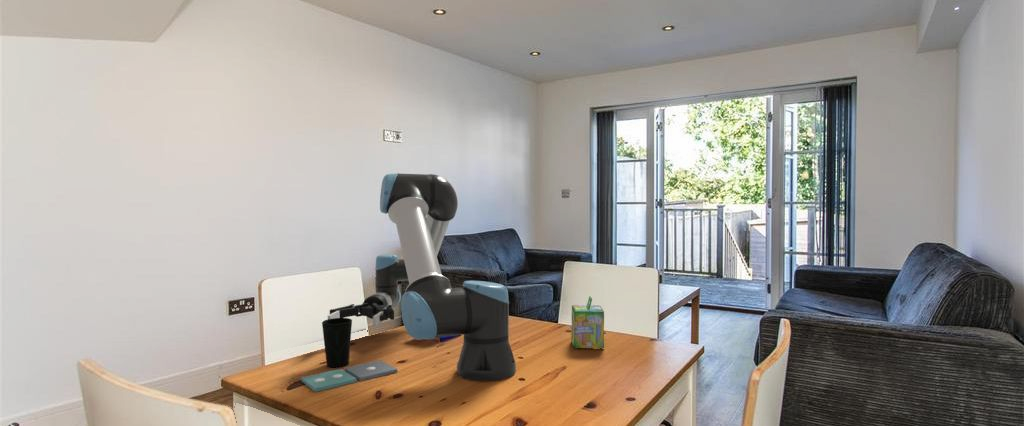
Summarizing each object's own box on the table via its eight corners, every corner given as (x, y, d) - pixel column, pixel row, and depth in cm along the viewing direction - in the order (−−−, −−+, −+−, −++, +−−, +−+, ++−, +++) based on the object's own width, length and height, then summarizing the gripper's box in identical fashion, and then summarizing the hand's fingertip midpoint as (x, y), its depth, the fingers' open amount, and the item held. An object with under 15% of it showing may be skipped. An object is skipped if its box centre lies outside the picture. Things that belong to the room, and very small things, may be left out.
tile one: (397, 372, 130) (397, 368, 130) (360, 381, 124) (360, 377, 124) (380, 362, 138) (380, 359, 138) (344, 370, 131) (344, 367, 131)
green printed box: (571, 341, 159) (570, 294, 158) (600, 341, 158) (600, 294, 158) (573, 349, 149) (573, 300, 149) (604, 349, 149) (604, 300, 149)
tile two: (356, 382, 123) (356, 378, 123) (315, 392, 117) (315, 388, 117) (340, 371, 131) (340, 368, 131) (301, 380, 124) (300, 377, 124)
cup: (358, 362, 138) (358, 319, 138) (338, 371, 131) (337, 325, 131) (337, 359, 141) (336, 316, 141) (316, 367, 134) (315, 322, 134)
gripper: (413, 317, 166) (393, 334, 145) (340, 315, 168) (310, 332, 147) (413, 294, 166) (393, 308, 145) (340, 293, 168) (310, 307, 147)
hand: (351, 320), depth 146 cm, fingers open, 13 cm apart
